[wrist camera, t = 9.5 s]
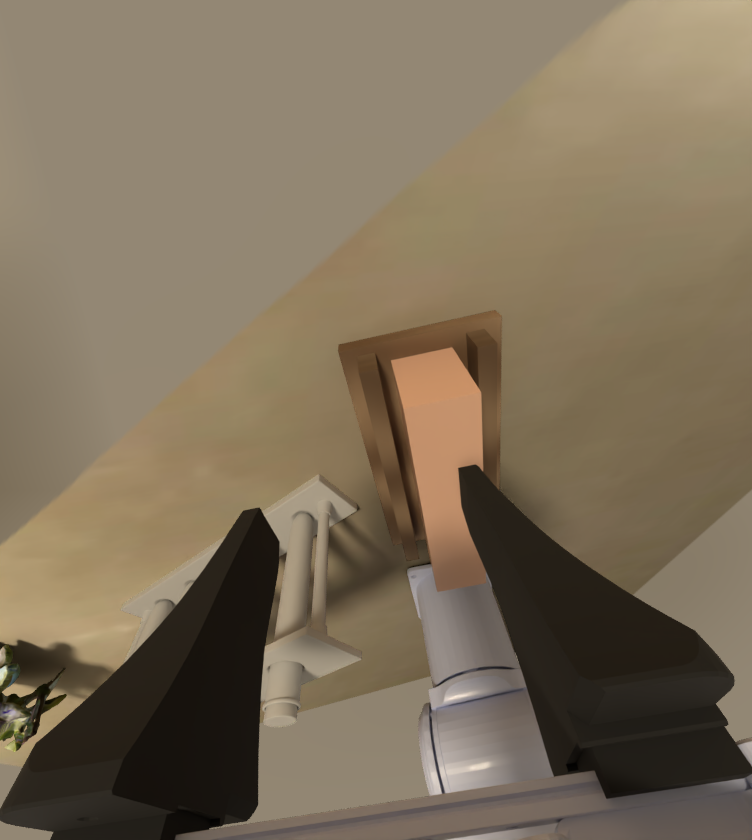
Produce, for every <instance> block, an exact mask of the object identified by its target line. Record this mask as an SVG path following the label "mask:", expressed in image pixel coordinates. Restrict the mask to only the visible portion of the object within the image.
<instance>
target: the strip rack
mask: <svg viewBox="0 0 752 840" xmlns="http://www.w3.org/2000/svg"><path fill="white" fill-rule="evenodd" d="M501 328H502V316H501V315H500V314H499V313H497V312H496V311H495V310H494V311H490V312H485V313H481V314H476V315H472V316H467V317H462V318H458V319H453V320H449V321H444V322H440V323H435V324H431V325H426V326H422V327H417V328H413V329H408V330H404V331H399V332H395V333H390V334H386V335H381V336H376V337H372V338H367V339H363V340H358V341H354V342H349V343H345V344H340V345H339V349H338V352H339V356H340V359H341V363H342V366H343V370H344V374H345V377H346V381H347V384H348V388H349V391H350V395H351V398H352V402H353V405H354V409H355V412H356V416H357V419H358V423H359V427H360V430H361V434H362V437H363V441H364V444H365V448H366V451H367V455H368V458H369V462H370V465H371V469H372V472H373V476H374V480H375V483H376V487H377V490H378V494H379V497H380V501H381V504H382V508H383V511H384V515H385V518H386V522H387V525H388V529H389V533H390V536H391V540H392V543H393V545H398V544H403V548H404V552H405V556H406V560H407V561H411V560H416V559H419V555H418V550H417V545H416V541H419V540H424V539H425V536H424V531H423V526H422V521H421V516H420V511H419V505H418V500H417V495H416V490H415V484H414V479H413V474H412V469H411V463H410V458H409V453H408V448H407V442H406V437H405V432H404V427H403V421H402V416H401V411H400V406H399V401H398V395H397V390H396V385H395V380H394V374H393V369H392V364H391V360H395V359H400V358H405V357H409V356H414V355H418V354H423V353H428V352H432V351H437V350H441V349H446V348H451V347H452V348H453V349H454V351H455V352H456V354H457V355H458V357H459V359H460V360H461V362H462V363H463V365H464V366H465V368H466V369H467V371H468V373H469V374H470V376H471V377H472V379H473V380H474V382H475V383H476V385H477V387H478V388H479V390H480V391H481V403H482V441H483V472H484V473H485V475H486V476H487V477H488V478H489V479H490V481H491V482H492V483H493V484H494V485H495V486H496V487H497V488H498V489H499V490H500V410H501Z"/></svg>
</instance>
